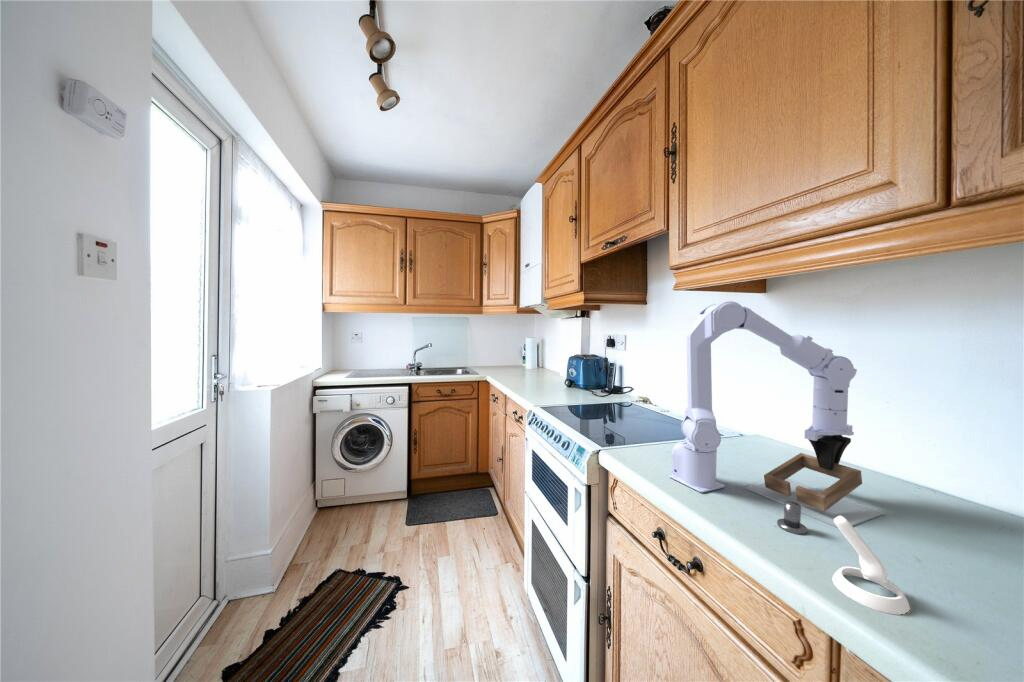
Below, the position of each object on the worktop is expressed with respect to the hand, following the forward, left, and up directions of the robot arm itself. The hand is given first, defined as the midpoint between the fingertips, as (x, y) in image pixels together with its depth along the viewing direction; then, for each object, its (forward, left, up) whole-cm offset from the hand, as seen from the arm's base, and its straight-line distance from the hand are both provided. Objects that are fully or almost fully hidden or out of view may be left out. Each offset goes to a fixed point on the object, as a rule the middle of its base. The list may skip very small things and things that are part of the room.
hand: (827, 467), depth 77 cm
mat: (0, -7, -6) cm, 9 cm away
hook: (+19, -30, -7) cm, 36 cm away
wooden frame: (0, -6, -3) cm, 7 cm away
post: (+5, -22, -6) cm, 23 cm away
